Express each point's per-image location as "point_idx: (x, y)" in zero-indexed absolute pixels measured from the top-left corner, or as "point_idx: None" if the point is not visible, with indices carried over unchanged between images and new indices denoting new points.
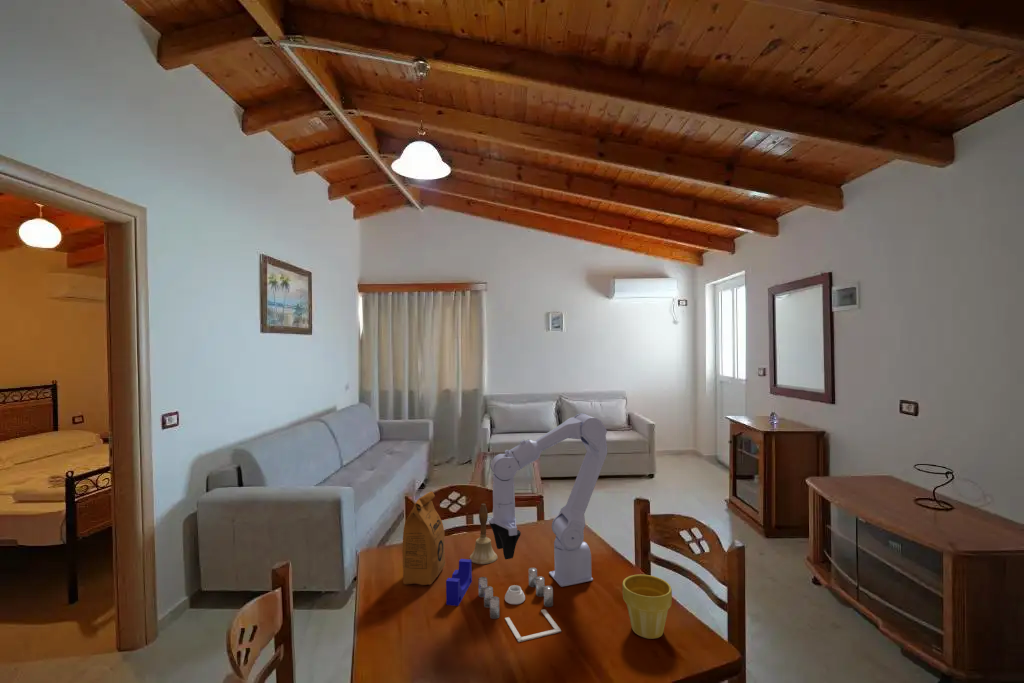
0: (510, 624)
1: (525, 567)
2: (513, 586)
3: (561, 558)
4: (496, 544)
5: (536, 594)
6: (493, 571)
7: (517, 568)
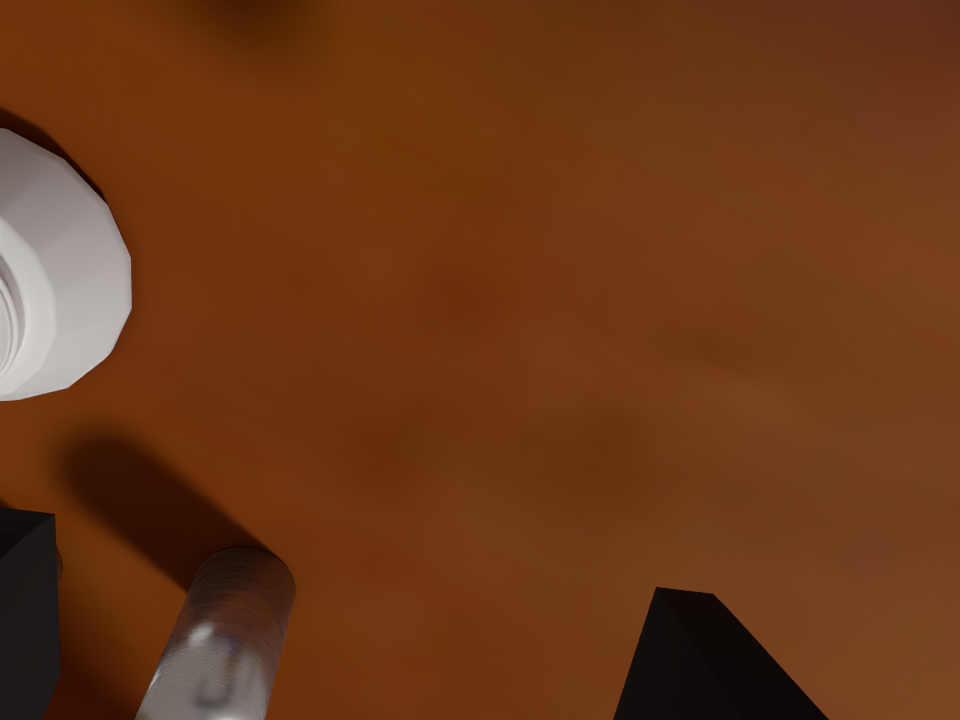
0: None
1: None
2: (5, 332)
3: None
4: (713, 656)
5: None
6: (828, 353)
7: None
